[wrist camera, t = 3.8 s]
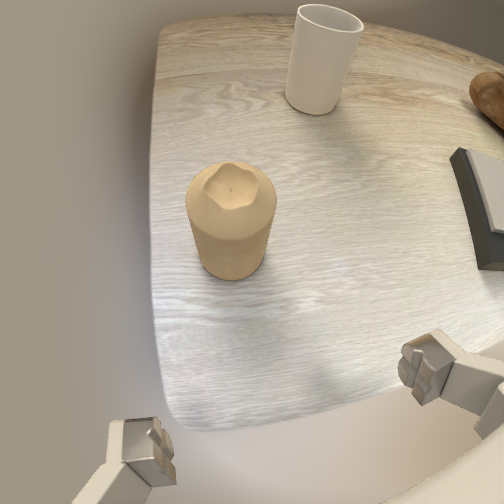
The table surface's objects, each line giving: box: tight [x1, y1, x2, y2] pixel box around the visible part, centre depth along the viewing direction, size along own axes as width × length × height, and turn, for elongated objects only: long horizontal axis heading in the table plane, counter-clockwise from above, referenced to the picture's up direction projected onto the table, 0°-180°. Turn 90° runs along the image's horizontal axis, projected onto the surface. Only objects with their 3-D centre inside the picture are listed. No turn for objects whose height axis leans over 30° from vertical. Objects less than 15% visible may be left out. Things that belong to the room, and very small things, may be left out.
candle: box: [186, 162, 277, 280], centre depth 22 cm, size 6×6×10 cm
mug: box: [285, 4, 364, 115], centre depth 29 cm, size 10×7×12 cm, turn 175°
